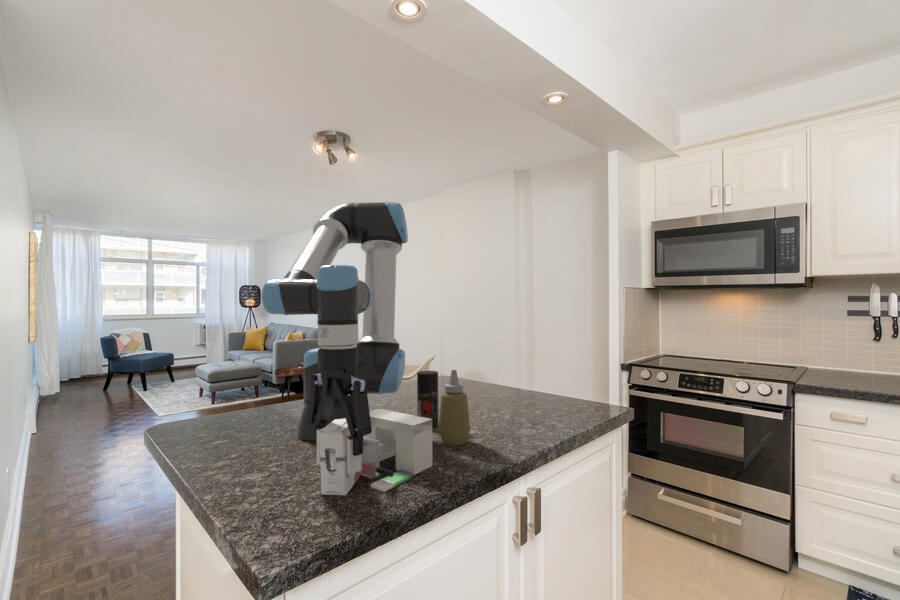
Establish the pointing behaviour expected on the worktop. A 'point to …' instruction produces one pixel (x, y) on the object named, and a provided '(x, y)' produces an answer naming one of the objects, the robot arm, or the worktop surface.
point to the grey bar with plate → (375, 455)
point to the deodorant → (427, 395)
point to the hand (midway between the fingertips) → (338, 466)
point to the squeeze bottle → (454, 413)
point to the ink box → (335, 459)
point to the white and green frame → (402, 444)
